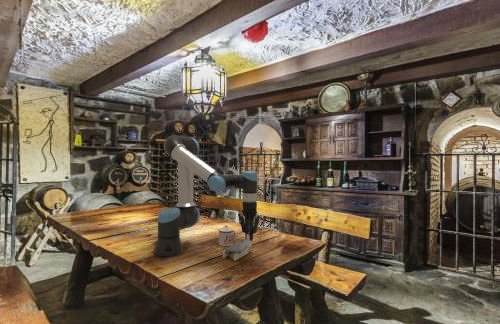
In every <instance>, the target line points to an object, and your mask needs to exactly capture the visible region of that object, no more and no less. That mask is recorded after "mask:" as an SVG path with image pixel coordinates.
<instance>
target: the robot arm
mask: <svg viewBox="0 0 500 324" xmlns="http://www.w3.org/2000/svg"><path fill="white" fill-rule="evenodd" d="M163 149H164V152H165V154H167V156H169V157H170V158H171V159H172V160H173V161H174V160H175V161H176V162H177V165H178V166H177V170H178V172H177V173H178V174H177V176H178V177H177V181H178V182H177V184H178V185H177V186H178V187H177V190H178V191H177V192H178V193H177V195H178V199H177V200H178V202H177V203H176V204H175V207H167V208H164V209H161V210H159V212H158V215H157V238H156V239H157V240H156V243H155V245H154V248H153V254H154V255H155V256H156V257H157V256H158V257H174V256H178V255H180V254H182V253H183V251H184V249H183V247H184V246H183V245H182V241H181V238H180V236H181V232H180V231H181V230H185V229H189V228H191V227H194V226H195V225H197V224H198V223H199V220H200V218H201V216H200V215H201V214H200V210H199V208H198V207H197V204H196V203H195V202H194V174H195V175H196V176H197V177H199V178H200V179H202V180H203V181H205V182H206V183H207V186H208V189H209V190H210V191H212V192H221V191H227V190H232V189H233V190H234V189H235V190H237V189H239V190H242V202H241V204H242V210H241V212H240V213H237V215H238V216H237V217H238V218H239V222H240V227H241V232H242V233H244V234H245V235H244V236H245V239H244V240H247V247H249V248H251V247H252V244H253V243H252V242H253V240H254V234H257V232H258V227H259V225H260V220H261V218H262V215H260V214H259V213H258V211H257V209H258V202H257V201H258V173H257V172H256V171H254V170H251V171H250V170H249V171H248V170H246V171H243V172H242V174H233V173H227V174H222V173H220V172H219V171H218V170H216V169H215V168H213V167H212V166H210V165H209V164H207V163H206V162H205V161H203V160H202V159H201V158H199V156H197V155H198V153H199V151H200V144H199V143H198V141H197V139H196V138H193V137H191V136H186V135H185V136H184V135H183V136H182V135H176V134H175V135H174V134H173V135H170V136H168V137H167V138H166V139H165V141H164V142H163Z"/></svg>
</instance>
